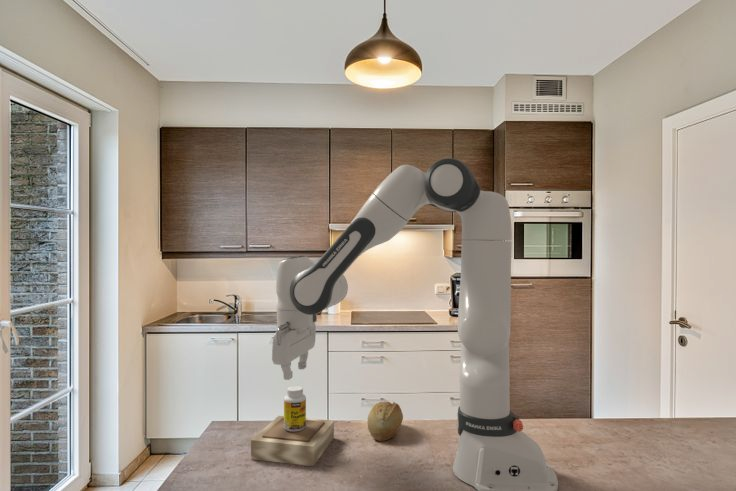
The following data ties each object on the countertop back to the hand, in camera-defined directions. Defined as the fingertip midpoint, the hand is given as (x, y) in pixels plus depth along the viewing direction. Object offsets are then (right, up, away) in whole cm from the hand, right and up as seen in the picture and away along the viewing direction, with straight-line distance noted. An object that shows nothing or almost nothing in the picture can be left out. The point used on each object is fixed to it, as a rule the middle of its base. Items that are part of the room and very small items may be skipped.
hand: (295, 373), depth 115 cm
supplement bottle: (0, -14, 0) cm, 14 cm away
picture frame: (0, -19, 0) cm, 19 cm away
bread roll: (+23, -19, +10) cm, 32 cm away
